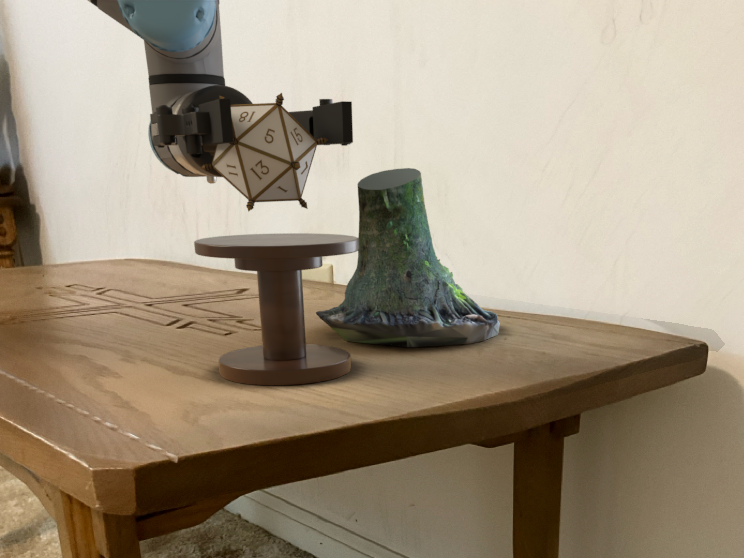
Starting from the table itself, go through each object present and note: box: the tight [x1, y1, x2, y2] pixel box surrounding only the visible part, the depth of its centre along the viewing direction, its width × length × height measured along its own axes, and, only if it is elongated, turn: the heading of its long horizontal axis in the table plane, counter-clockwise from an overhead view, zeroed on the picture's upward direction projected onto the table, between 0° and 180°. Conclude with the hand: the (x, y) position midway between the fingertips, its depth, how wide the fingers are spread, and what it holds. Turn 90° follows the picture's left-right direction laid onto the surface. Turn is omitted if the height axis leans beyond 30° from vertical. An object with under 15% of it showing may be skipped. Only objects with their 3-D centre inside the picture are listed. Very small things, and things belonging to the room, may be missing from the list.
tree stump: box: [315, 167, 501, 348], centre depth 83 cm, size 18×20×18 cm
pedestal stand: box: [193, 232, 359, 386], centre depth 70 cm, size 13×13×10 cm
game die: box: [201, 92, 328, 213], centre depth 65 cm, size 9×8×10 cm
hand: (288, 121), depth 60 cm, fingers closed on game die, 8 cm apart
